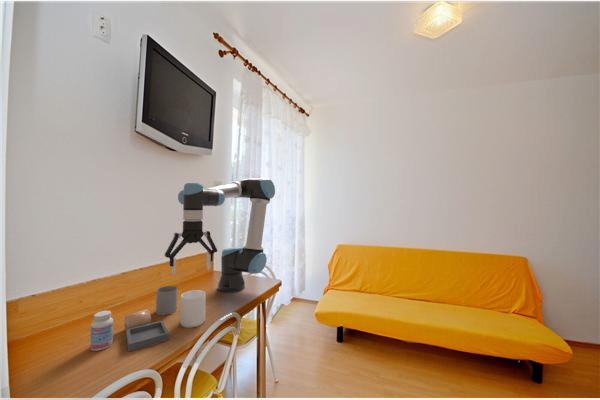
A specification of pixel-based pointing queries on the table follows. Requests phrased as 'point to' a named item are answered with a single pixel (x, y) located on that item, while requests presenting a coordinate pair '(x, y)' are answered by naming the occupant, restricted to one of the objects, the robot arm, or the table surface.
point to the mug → (192, 308)
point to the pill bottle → (101, 331)
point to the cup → (166, 300)
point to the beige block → (137, 319)
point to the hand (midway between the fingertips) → (191, 271)
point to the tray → (146, 335)
